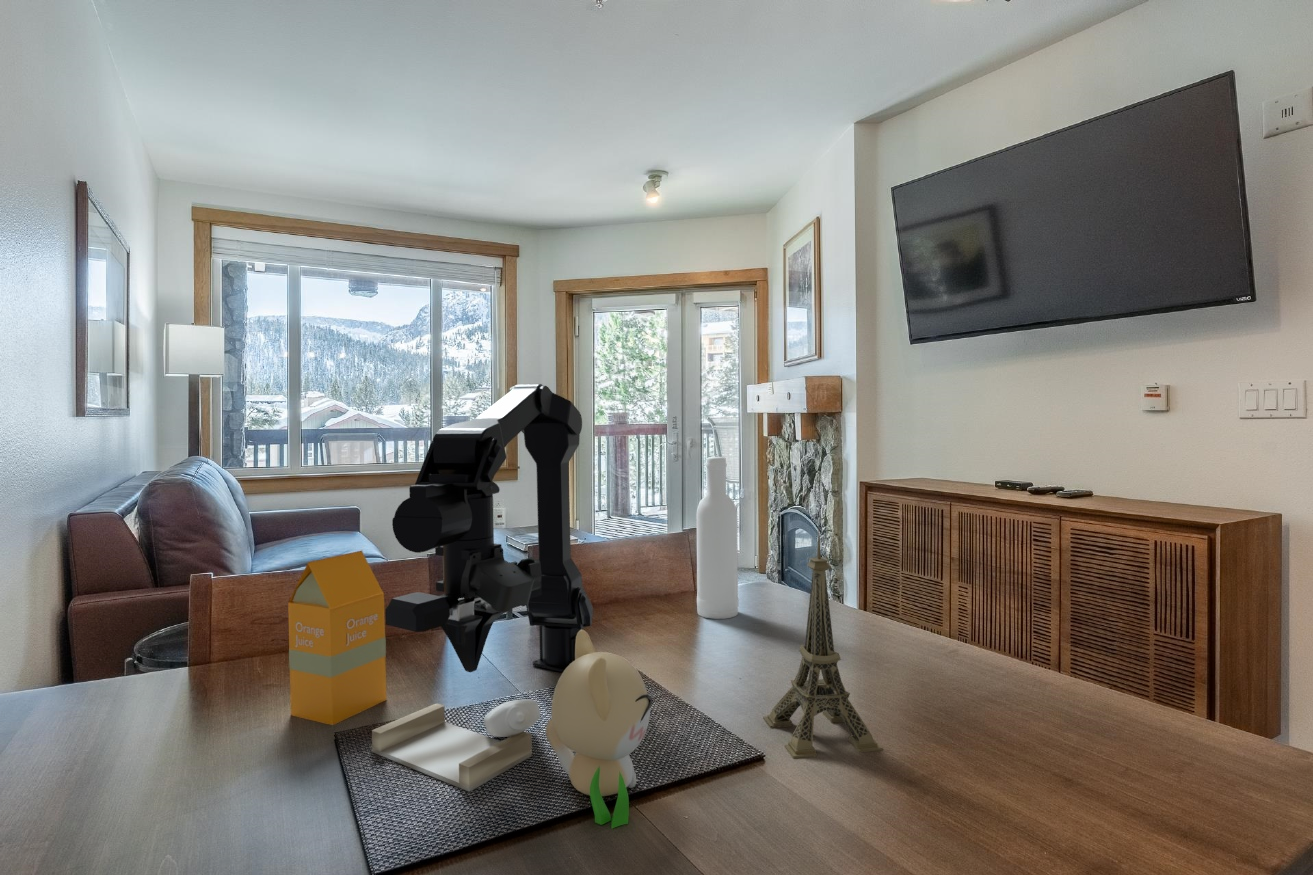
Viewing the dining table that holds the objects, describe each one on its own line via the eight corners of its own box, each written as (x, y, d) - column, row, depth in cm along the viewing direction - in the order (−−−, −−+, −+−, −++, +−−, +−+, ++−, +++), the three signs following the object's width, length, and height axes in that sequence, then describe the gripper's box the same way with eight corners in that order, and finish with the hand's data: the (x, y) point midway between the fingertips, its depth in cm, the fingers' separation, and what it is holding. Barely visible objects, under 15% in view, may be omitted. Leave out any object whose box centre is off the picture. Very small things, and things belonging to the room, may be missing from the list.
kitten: (673, 821, 66) (671, 661, 66) (566, 840, 63) (563, 673, 63) (632, 749, 80) (631, 618, 80) (544, 762, 77) (541, 626, 77)
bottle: (694, 618, 132) (692, 458, 132) (699, 607, 140) (697, 456, 139) (737, 620, 131) (736, 458, 130) (739, 608, 139) (738, 456, 138)
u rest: (372, 751, 80) (371, 730, 80) (436, 723, 88) (436, 703, 88) (469, 791, 71) (468, 767, 71) (531, 755, 79) (531, 733, 79)
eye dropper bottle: (527, 739, 85) (542, 743, 74) (480, 733, 84) (489, 736, 73) (534, 701, 87) (550, 700, 76) (488, 694, 85) (498, 692, 75)
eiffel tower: (882, 750, 80) (882, 529, 79) (793, 759, 78) (791, 532, 77) (843, 712, 90) (842, 516, 89) (763, 719, 88) (761, 519, 88)
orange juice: (387, 699, 95) (384, 552, 95) (332, 725, 87) (329, 564, 87) (345, 690, 99) (342, 548, 98) (289, 715, 91) (285, 560, 90)
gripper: (450, 557, 69) (454, 714, 70) (574, 530, 85) (576, 659, 85) (380, 546, 75) (383, 691, 76) (508, 524, 91) (510, 644, 91)
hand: (470, 670), depth 82 cm, fingers closed
